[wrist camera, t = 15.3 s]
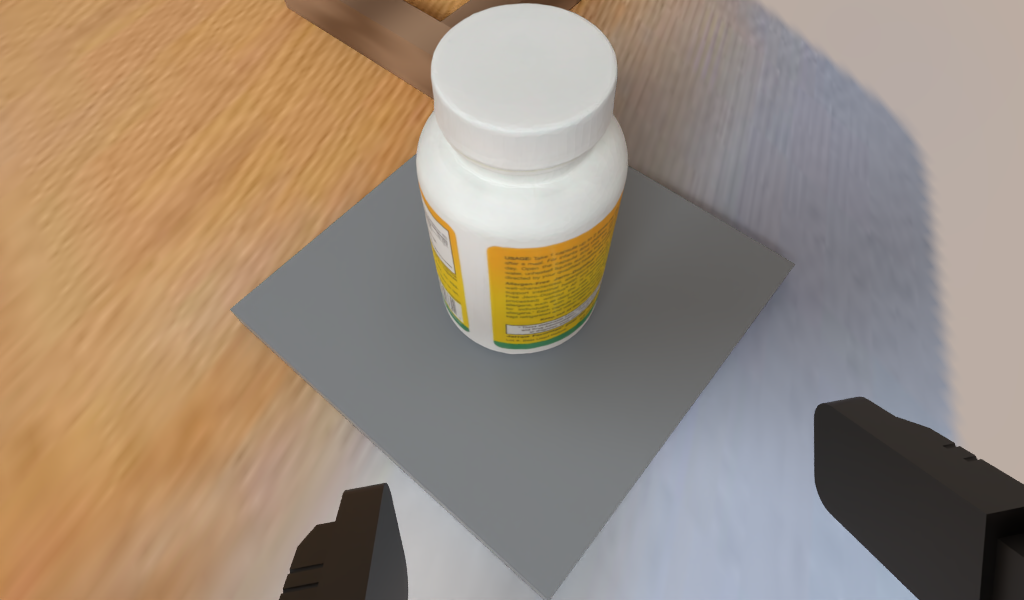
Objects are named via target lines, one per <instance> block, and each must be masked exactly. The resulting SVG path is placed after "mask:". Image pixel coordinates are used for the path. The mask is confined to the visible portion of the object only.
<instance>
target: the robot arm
mask: <svg viewBox="0 0 1024 600" xmlns="http://www.w3.org/2000/svg"><path fill="white" fill-rule="evenodd" d="M814 476H815V485H816V489H817V492H818V495H819V497H820V499H821V501H822V503H823V505H824V506H825V508H826V509H827V510H828V512H829V513H830V514H831V515H832V516H833V517H834V518H835V519H836V520H837V521H838V522H839V523H841V524H842V525H843V526H844V527H845V528H846V529H847V530H848V531H849V532H850V533H851V534H852V535H853V536H854V537H855V538H856V539H857V540H858V541H859V542H860V543H861V544H862V545H863V546H864V547H865V548H866V549H867V550H868V551H869V552H870V553H871V554H872V555H873V556H874V557H875V558H877V559H878V560H879V561H880V562H881V563H882V564H883V565H884V566H885V567H886V568H887V569H888V570H889V571H890V572H891V573H892V574H893V575H894V576H895V577H896V578H897V579H898V580H899V581H900V582H901V583H902V584H903V585H904V586H905V587H906V588H907V589H908V590H909V591H910V592H912V593H913V594H914V595H915V596H916V597H917V598H918V599H919V600H1024V484H1022V483H1020V482H1019V481H1017V480H1015V479H1014V478H1012V477H1010V476H1009V475H1007V474H1005V473H1004V472H1002V471H1000V470H999V469H997V468H995V467H994V466H992V465H990V464H989V463H987V462H985V461H984V460H982V459H980V460H977V458H976V456H975V455H974V454H972V453H970V452H969V451H967V450H965V449H964V448H962V447H960V446H959V447H956V446H955V443H954V442H952V441H950V440H949V439H947V438H945V437H944V436H942V435H940V434H939V433H937V432H935V431H934V430H932V429H930V428H928V427H925V426H922V425H919V424H916V423H913V422H910V421H907V420H904V419H901V418H898V417H895V416H894V415H892V414H890V413H889V412H887V411H886V410H884V409H882V408H881V407H879V406H877V405H876V404H874V403H873V402H871V401H869V400H868V399H866V398H864V397H854V398H849V399H844V400H838V401H833V402H827V403H822V404H820V405H818V406H817V408H816V410H815V414H814ZM279 600H408V576H407V567H406V560H405V555H404V550H403V546H402V541H401V537H400V532H399V528H398V523H397V519H396V514H395V510H394V505H393V501H392V496H391V492H390V489H389V486H388V484H387V483H382V484H377V485H371V486H366V487H361V488H355V489H350V490H345V491H344V493H343V496H342V499H341V503H340V507H339V510H338V514H337V517H336V521H335V522H330V523H324V524H319V525H316V526H315V527H314V529H313V530H312V531H311V532H310V533H309V534H308V535H307V537H306V538H305V539H304V540H303V541H302V542H301V543H300V545H299V546H298V547H297V550H296V553H295V556H294V559H293V561H292V564H291V567H290V574H288V576H287V579H286V581H285V584H284V587H283V594H281V596H280V599H279Z"/></svg>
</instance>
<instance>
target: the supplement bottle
mask: <svg viewBox="0 0 1024 600" xmlns="http://www.w3.org/2000/svg"><path fill="white" fill-rule="evenodd" d="M431 81H432V89H433V96H434V111H433V112H432V114H431V115H430V117H429V118H428V120H427V122H426V124H425V126H424V128H423V130H422V133H421V135H420V139H419V142H418V148H417V155H416V167H417V176H418V183H419V188H420V192H421V198H422V202H423V207H424V211H425V216H426V222H427V226H428V231H429V236H430V241H431V246H432V251H433V256H434V260H435V264H436V269H437V274H438V279H439V284H440V288H441V293H442V296H443V300H444V304H445V306H446V309H447V311H448V313H449V315H450V317H451V319H452V320H453V322H454V323H455V324H456V326H457V327H458V328H459V329H460V330H461V331H462V332H463V333H464V334H465V335H466V336H467V337H469V338H470V339H472V340H473V341H474V342H476V343H478V344H480V345H482V346H483V347H486V348H488V349H491V350H494V351H498V352H503V353H507V354H525V353H533V352H539V351H543V350H547V349H550V348H553V347H556V346H558V345H560V344H562V343H564V342H565V341H567V340H568V339H570V338H571V337H573V336H574V335H575V334H576V333H577V332H578V331H579V330H580V329H581V328H582V327H583V326H584V325H585V323H586V322H587V321H588V319H589V317H590V315H591V314H592V312H593V310H594V307H595V304H596V301H597V298H598V295H599V290H600V285H601V282H602V278H603V274H604V270H605V266H606V261H607V257H608V253H609V249H610V245H611V240H612V236H613V231H614V227H615V223H616V219H617V215H618V211H619V206H620V202H621V198H622V194H623V190H624V186H625V182H626V177H627V169H628V152H627V145H626V141H625V137H624V134H623V131H622V129H621V127H620V125H619V123H618V121H617V119H616V118H615V116H614V115H613V109H614V98H615V91H616V84H617V60H616V55H615V52H614V49H613V47H612V46H611V44H610V42H609V40H608V39H607V38H606V36H605V35H604V34H603V33H602V32H601V31H600V30H599V29H598V28H597V27H596V26H595V25H593V24H592V23H591V22H589V21H588V20H586V19H585V18H583V17H581V16H579V15H578V14H575V13H573V12H570V11H567V10H565V9H562V8H558V7H554V6H549V5H542V4H531V3H521V4H509V5H502V6H496V7H491V8H489V9H486V10H483V11H480V12H477V13H474V14H472V15H471V16H469V17H467V18H465V19H464V20H462V21H461V22H459V23H458V24H456V25H455V26H454V27H453V28H451V29H450V30H449V31H448V32H447V33H446V34H445V35H444V36H443V38H442V39H441V40H440V42H439V44H438V45H437V47H436V49H435V51H434V54H433V58H432V62H431Z"/></svg>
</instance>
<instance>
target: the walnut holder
mask: <svg viewBox="0 0 1024 600" xmlns="http://www.w3.org/2000/svg"><path fill="white" fill-rule="evenodd" d="M579 1H581V0H470V1H468V2H467V3H466V4H464V5H463V6H462V7H460V8H459V9H457V10H456V11H455V12H453V13H452V14H451V15H449V16H448V17H447V18H445V19H444V20H443V21H441V22H440V21H438V20H436V19H435V18H433V17H431V16H429V15H428V14H426V13H424V12H422V11H421V10H419V9H417V8H415V7H414V6H412V5H410V4H408V3H407V2H405V1H403V0H285V3H286V5H287V7H288V8H289V9H291V10H292V11H294V12H296V13H297V14H299V15H300V16H302V17H304V18H305V19H307V20H308V21H310V22H311V23H313V24H315V25H316V26H318V27H319V28H321V29H323V30H324V31H326V32H327V33H329V34H331V35H332V36H334V37H335V38H337V39H339V40H340V41H342V42H343V43H345V44H347V45H348V46H350V47H351V48H353V49H355V50H356V51H358V52H359V53H361V54H363V55H364V56H366V57H367V58H369V59H371V60H372V61H374V62H375V63H377V64H379V65H380V66H382V67H383V68H385V69H386V70H388V71H390V72H391V73H393V74H394V75H396V76H398V77H399V78H401V79H402V80H404V81H406V82H407V83H409V84H410V85H412V86H414V87H415V88H417V89H418V90H420V91H422V92H423V93H425V94H426V95H428V96H430V97H431V98H433V99H434V96H433V89H432V81H431V62H432V58H433V54H434V51H435V49H436V47H437V45H438V44H439V42H440V40H441V39H442V38H443V36H444V35H445V34H446V33H447V32H448V31H449V30H450V29H451V28H453V27H454V26H455V25H456V24H458V23H459V22H461V21H462V20H464V19H465V18H467V17H469V16H471V15H472V14H474V13H477V12H480V11H483V10H486V9H489V8H491V7H496V6H502V5H509V4H521V3H531V4H542V5H549V6H554V7H558V8H562V9H565V10H567V11H568V10H570V9H571V8H572V7H573V6H575V5H576V4H577V3H578V2H579Z"/></svg>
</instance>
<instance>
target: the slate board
mask: <svg viewBox="0 0 1024 600" xmlns="http://www.w3.org/2000/svg"><path fill="white" fill-rule="evenodd" d="M416 155H417V154H415V155H414V156H413V157H412V158H411V159H409V160H408V161H407V162H406V163H405V164H404V165H402V166H401V167H400V168H399V169H398V170H396V171H395V172H394V173H393V174H392V175H390V176H389V177H388V178H387V179H386V180H384V181H383V182H382V183H381V184H380V185H378V186H377V187H376V188H375V189H374V190H372V191H371V192H370V193H369V194H368V195H366V196H365V197H364V198H363V199H362V200H360V201H359V202H358V203H357V204H356V205H354V206H353V207H352V208H351V209H350V210H348V211H347V212H346V213H345V214H344V215H342V216H341V217H340V218H339V219H338V220H336V221H335V222H334V223H333V224H332V225H330V226H329V227H328V228H327V229H326V230H324V231H323V232H322V233H321V234H320V235H318V236H317V237H316V238H315V239H314V240H313V241H311V242H310V243H309V244H308V245H307V246H305V247H304V248H303V249H302V250H301V251H299V252H298V253H297V254H296V255H295V256H293V257H292V258H291V259H290V260H289V261H287V262H286V263H285V264H284V265H283V266H281V267H280V268H279V269H278V270H277V271H275V272H274V273H273V274H272V275H271V276H269V277H268V278H267V279H266V280H265V281H263V282H262V283H261V284H260V285H259V286H257V287H256V288H255V289H254V290H253V291H251V292H250V293H249V294H248V295H247V296H245V297H244V298H243V299H242V300H241V301H239V302H238V303H237V304H236V305H235V306H233V307H232V308H231V309H230V310H231V311H232V312H233V313H234V315H235V316H236V317H237V318H238V319H239V320H240V321H241V323H242V324H244V325H245V326H246V327H247V328H248V329H249V330H250V331H251V332H252V333H253V334H254V335H256V336H257V337H258V338H259V339H260V340H261V341H262V342H263V343H264V344H265V345H266V346H268V347H269V348H270V349H271V350H272V351H273V352H274V353H275V354H276V355H277V356H279V357H280V358H281V359H282V360H283V361H284V362H285V363H286V364H287V365H288V366H289V367H291V368H292V369H293V370H294V371H295V372H296V373H297V374H298V375H299V376H300V377H301V378H303V379H304V380H305V381H306V382H307V383H308V384H309V385H310V386H311V387H312V388H313V389H315V390H316V391H317V392H318V393H319V394H320V395H321V396H322V397H323V398H324V399H325V400H327V401H328V402H329V403H330V404H331V405H332V406H333V407H334V408H335V409H336V410H337V411H339V412H340V413H341V414H342V415H343V416H344V417H345V418H346V419H347V420H348V421H349V422H351V423H352V424H353V425H354V426H355V427H356V428H357V429H358V430H359V431H360V432H361V433H363V434H364V435H365V436H366V437H367V438H368V439H369V440H370V441H371V442H372V443H373V444H375V445H376V446H377V447H378V448H379V449H380V450H381V451H382V452H383V453H384V454H385V455H387V456H388V457H389V458H390V459H391V460H392V461H393V462H394V463H395V464H396V465H397V466H399V467H400V468H401V469H402V470H403V471H404V472H405V473H406V474H407V475H408V476H409V477H411V478H412V479H413V480H414V481H415V482H416V483H417V484H418V485H419V486H420V487H422V488H423V489H424V490H425V491H426V492H427V493H428V494H429V495H430V496H431V497H432V498H434V499H435V500H436V501H437V502H438V503H439V504H440V505H441V506H442V507H443V508H444V509H446V510H447V511H448V512H449V513H450V514H451V515H452V516H453V517H454V518H455V519H456V520H458V521H459V522H460V523H461V524H462V525H463V526H464V527H465V528H466V529H467V530H468V531H470V532H471V533H472V534H473V535H474V536H475V537H476V538H477V539H478V540H479V541H480V542H482V543H483V544H484V545H485V546H486V547H487V548H488V549H489V550H490V551H491V552H492V553H494V554H495V555H496V556H497V557H498V558H499V559H500V560H501V561H502V562H503V563H504V564H506V565H507V566H508V567H509V568H510V569H511V570H512V571H513V572H514V573H515V574H516V575H518V576H519V577H520V578H521V579H522V580H523V581H524V582H525V583H526V584H527V585H528V586H530V587H531V588H532V589H533V590H534V591H535V592H536V593H537V594H538V595H539V596H540V597H542V598H543V599H544V600H550V599H551V597H552V596H553V595H554V593H555V592H556V591H557V589H558V588H559V587H560V585H561V584H562V582H563V581H564V580H565V578H566V577H567V576H568V574H569V573H570V571H571V570H572V569H573V567H574V566H575V565H576V563H577V562H578V561H579V559H580V558H581V556H582V555H583V554H584V552H585V551H586V550H587V548H588V547H589V545H590V544H591V543H592V541H593V540H594V539H595V537H596V536H597V535H598V533H599V532H600V530H601V529H602V528H603V526H604V525H605V524H606V522H607V521H608V520H609V518H610V517H611V515H612V514H613V513H614V511H615V510H616V509H617V507H618V506H619V504H620V503H621V502H622V500H623V499H624V498H625V496H626V495H627V494H628V492H629V491H630V489H631V488H632V487H633V485H634V484H635V483H636V481H637V480H638V478H639V477H640V476H641V474H642V473H643V472H644V470H645V469H646V468H647V466H648V465H649V463H650V462H651V461H652V459H653V458H654V457H655V455H656V454H657V453H658V451H659V450H660V448H661V447H662V446H663V444H664V443H665V442H666V440H667V439H668V437H669V436H670V435H671V433H672V432H673V431H674V429H675V428H676V427H677V425H678V424H679V422H680V421H681V420H682V418H683V417H684V416H685V414H686V413H687V411H688V410H689V409H690V407H691V406H692V405H693V403H694V402H695V401H696V399H697V398H698V396H699V395H700V394H701V392H702V391H703V390H704V388H705V387H706V386H707V384H708V383H709V381H710V380H711V379H712V377H713V376H714V375H715V373H716V372H717V370H718V369H719V368H720V366H721V365H722V364H723V362H724V361H725V360H726V358H727V357H728V355H729V354H730V353H731V351H732V350H733V349H734V347H735V346H736V344H737V343H738V342H739V340H740V339H741V338H742V336H743V335H744V334H745V332H746V331H747V329H748V328H749V327H750V325H751V324H752V323H753V321H754V320H755V319H756V317H757V316H758V314H759V313H760V312H761V310H762V309H763V308H764V306H765V305H766V303H767V302H768V301H769V299H770V298H771V297H772V295H773V294H774V293H775V291H776V290H777V288H778V287H779V286H780V284H781V283H782V282H783V280H784V279H785V277H786V276H787V275H788V273H789V272H790V271H791V269H792V268H793V267H794V265H795V264H794V263H792V262H791V261H789V260H787V259H786V258H784V257H782V256H781V255H779V254H777V253H775V252H774V251H772V250H770V249H769V248H767V247H765V246H764V245H762V244H760V243H759V242H757V241H755V240H753V239H752V238H750V237H748V236H747V235H745V234H743V233H742V232H740V231H738V230H737V229H735V228H733V227H731V226H730V225H728V224H726V223H725V222H723V221H721V220H720V219H718V218H716V217H715V216H713V215H711V214H709V213H708V212H706V211H704V210H703V209H701V208H699V207H698V206H696V205H694V204H693V203H691V202H689V201H688V200H686V199H684V198H682V197H681V196H679V195H677V194H676V193H674V192H672V191H671V190H669V189H667V188H666V187H664V186H662V185H660V184H659V183H657V182H655V181H654V180H652V179H650V178H649V177H647V176H645V175H644V174H642V173H640V172H638V171H637V170H635V169H633V168H632V167H630V166H628V169H627V177H626V182H625V186H624V190H623V194H622V198H621V202H620V206H619V211H618V215H617V219H616V223H615V227H614V231H613V236H612V240H611V245H610V249H609V253H608V257H607V261H606V266H605V270H604V274H603V278H602V282H601V285H600V290H599V295H598V298H597V301H596V304H595V307H594V310H593V312H592V314H591V315H590V317H589V319H588V321H587V322H586V323H585V325H584V326H583V327H582V328H581V329H580V330H579V331H578V332H577V333H576V334H575V335H574V336H573V337H571V338H570V339H568V340H567V341H565V342H564V343H562V344H560V345H558V346H556V347H553V348H550V349H547V350H543V351H539V352H533V353H525V354H507V353H503V352H498V351H494V350H491V349H488V348H486V347H483V346H482V345H480V344H478V343H476V342H474V341H473V340H472V339H470V338H469V337H467V336H466V335H465V334H464V333H463V332H462V331H461V330H460V329H459V328H458V327H457V326H456V324H455V323H454V322H453V320H452V319H451V317H450V315H449V313H448V311H447V309H446V306H445V304H444V300H443V296H442V293H441V288H440V284H439V279H438V274H437V269H436V264H435V260H434V256H433V251H432V246H431V241H430V236H429V231H428V226H427V222H426V216H425V211H424V207H423V202H422V198H421V192H420V188H419V183H418V176H417V167H416Z"/></svg>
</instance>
